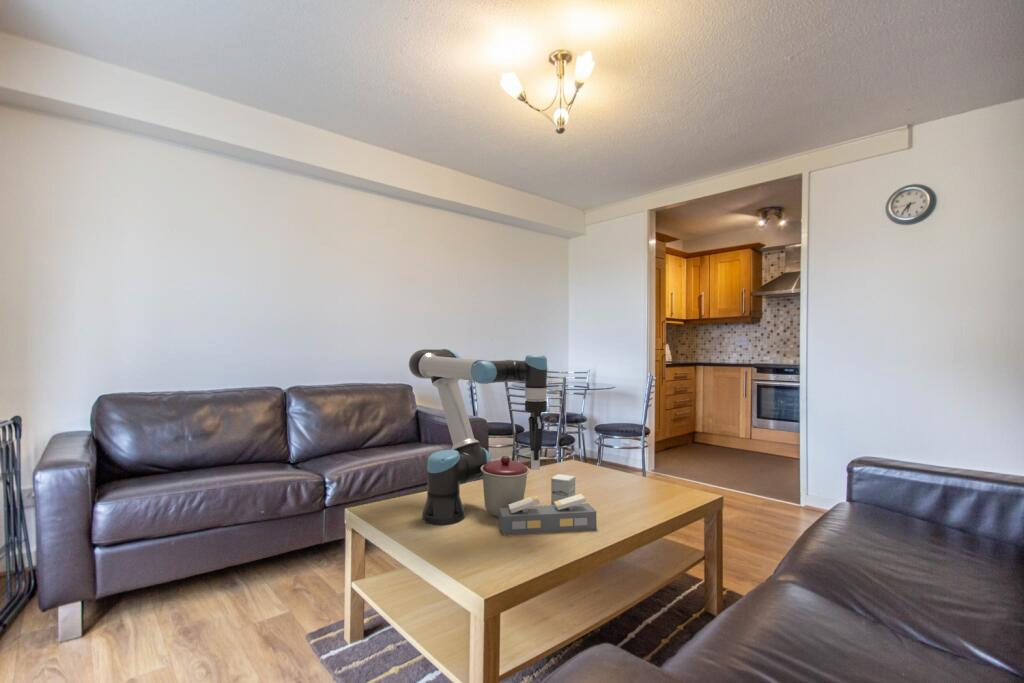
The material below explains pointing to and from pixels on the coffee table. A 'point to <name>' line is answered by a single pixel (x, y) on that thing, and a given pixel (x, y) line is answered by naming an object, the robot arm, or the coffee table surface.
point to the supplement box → (562, 487)
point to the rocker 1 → (524, 504)
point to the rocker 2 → (569, 501)
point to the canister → (503, 483)
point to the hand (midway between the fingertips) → (535, 469)
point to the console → (547, 519)
